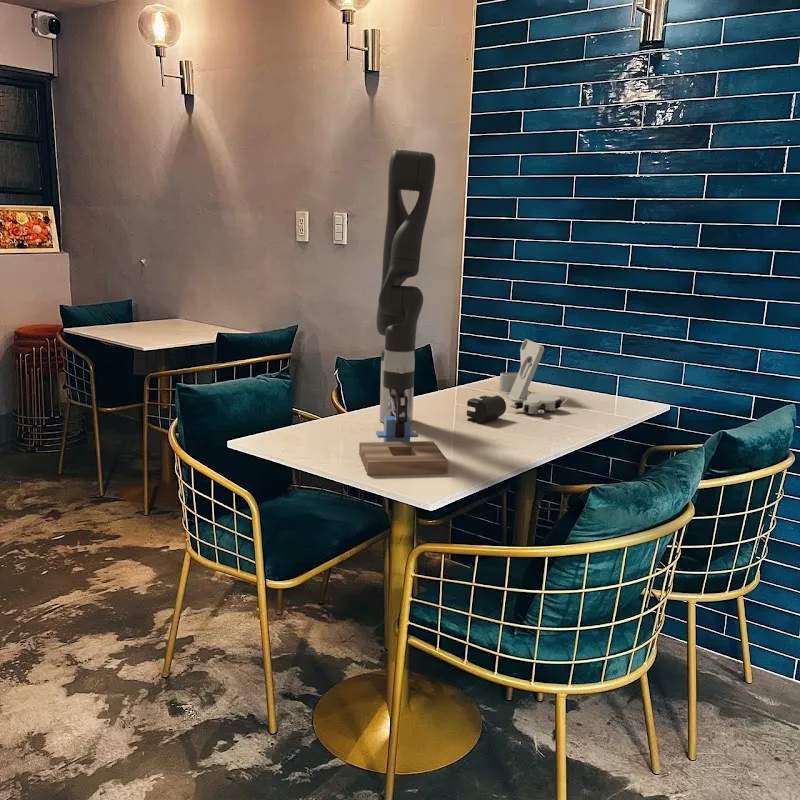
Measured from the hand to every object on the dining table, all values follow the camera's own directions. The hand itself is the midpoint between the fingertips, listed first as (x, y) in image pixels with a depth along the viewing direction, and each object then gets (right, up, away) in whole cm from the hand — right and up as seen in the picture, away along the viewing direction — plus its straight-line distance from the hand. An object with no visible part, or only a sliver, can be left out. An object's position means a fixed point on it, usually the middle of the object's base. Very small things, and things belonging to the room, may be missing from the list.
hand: (396, 433), depth 197 cm
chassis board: (+1, -6, -13) cm, 14 cm away
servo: (0, -3, +1) cm, 4 cm away
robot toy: (+42, +4, +44) cm, 61 cm away
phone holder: (+40, +9, +65) cm, 77 cm away
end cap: (+25, +2, +31) cm, 40 cm away
